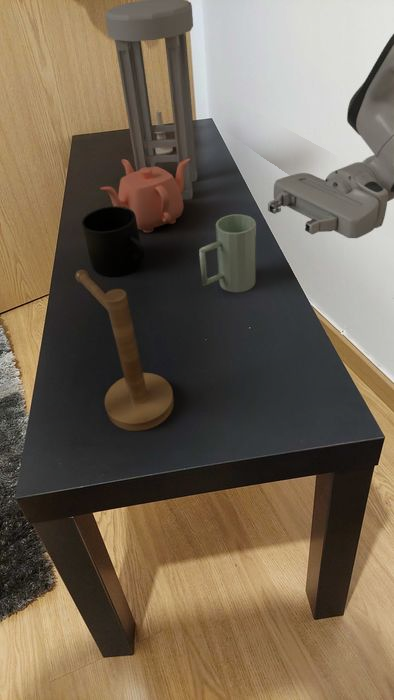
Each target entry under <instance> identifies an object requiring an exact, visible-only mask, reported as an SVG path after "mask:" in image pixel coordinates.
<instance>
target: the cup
mask: <svg viewBox="0 0 394 700" xmlns="http://www.w3.org/2000/svg"><path fill="white" fill-rule="evenodd" d="M215 237H216V238H215V240H216V241H215V242H211V243H209V244H207V245H205V246H202V247H200V248H199V249H198V253H199V266H200V277H201V278H200V279H201V285H202V286H203V287H206V286H209V285H211V284H213V283H215V282H216V281H218V283H219V284H218V285H219V286H220V288H221V289H223V290H224V291H226V292H228V293H229V292H230V293H243V292H247V291H249V290H251V289H253V288H254V287H255V285H256V279H257V222H256V220H255V219H254V218H253V217H252V216H250V215H246V214H243V213H242V214H240V213H234V214H233V213H232V214H229V215H225V216H223V217H220V218H219V219H218V220H216V223H215ZM214 249H216V254H217V274H215V275H213V276H210V277H208V274H207V273H208V272H207V259H206V253H208V252H210V251H213V250H214Z"/></svg>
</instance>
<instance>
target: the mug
mask: <svg viewBox="0 0 394 700" xmlns="http://www.w3.org/2000/svg"><path fill="white" fill-rule="evenodd" d="M81 227H82V233H83V236H84V239H85V243H86V244H85V245H86V248H87V251H88V256H89V259H90V264H91V267H92V269H93V270H94V272H96V273H97V274H98V275H101V276H103V277H121V276H125V275H128V274H130V273H132V272H135V271H136V270H137V269H138V268H139V267H141V265H142V262H143V260H144V254H145V252H144V248H143V247H144V246H143V245H142V243H141V239H140V233H139V229H138V227H137V221H136V215H135V213H134V212H133V211H132V210H131V209H129V208H126V207H120V206H113V205H112V206H105V207H99V208H97V209H95V210H93V211H90V212H89V213H87V214H86V215H85V216H84V217H83V218H82V220H81Z"/></svg>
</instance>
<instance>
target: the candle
mask: <svg viewBox="0 0 394 700" xmlns="http://www.w3.org/2000/svg"><path fill="white" fill-rule="evenodd" d="M154 114H155V122H156V124H155V125H164V122H163V114H162V111H155V113H154ZM153 134H156V140H162V139H167V137H166V132H154V133H153ZM155 150H156V155H170V154H172V153H173V151H174V147H162V148H155Z"/></svg>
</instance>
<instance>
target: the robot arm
mask: <svg viewBox="0 0 394 700" xmlns="http://www.w3.org/2000/svg"><path fill="white" fill-rule="evenodd" d="M346 121H347V123H348V125H349V126H350V127H351V128H352V129H353V130H354V131H355V133H357V135H359V136H360V137H361V139H362V141H364V143H365V144H366V145H367V147H368V148H369V150H370V151H371V152H372V153H373V155H370V156H368V157H366V158H364V159H363V160H362V161H357V162H353V163H350V164H348V165H346V166H343V167H340V168H338V169H335V170H333V171H331V172H330V173H328V175H327V177H326V178H325V179H323V178H320V177H318V176H316V175H313V174H311V173H308V172H299V173H294V174H292V175H288V176H285V177H281V178H279V179H276V180H275V182H274V184H273V200H270V201H269V202H268V203H267V212H270V213H272V214H274V215H276V214H277V213H280V212H282V207H287V208H289V209H291V210H292V211H295V212H297V213H299V214H301V215H303V216H305V217H307V218H309V219H310V220H308V221H305V224H304V225H305V228H304V230H305V232H307V233H309V234H310V235H315V234H317V233H323V232H324V233H325V232H326V233H327V232H336V233H338V234H340V235H342V236H343V237H346V238H347V239H359V238H361V237H363V236H365V235H368V234H369V233H370V232H372V231H373V230H375V229H379V228H380V227H382V226H383V223H384V221H385V217H386V214H387V213H386V212H387V208H388V202H390V201H391V200H393V199H394V33H392V35H391V36H390V38H389V39H388V41H387V42H386V44H385V46H384V47H383V49H382V51H381V52H380V54H379V55H378V58H377V59H376V61H375V63H374V64H373V66H372V68H371V70H370V71H369V73H368V75H367V77H366V78H365V80H364V81H363V83H362V84H361V85H360V86H359V88H358V89H357V90H356V91H355V92H354V94H353V95H352V97H351V98H350V100H349V102H348V106H347V113H346Z"/></svg>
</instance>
